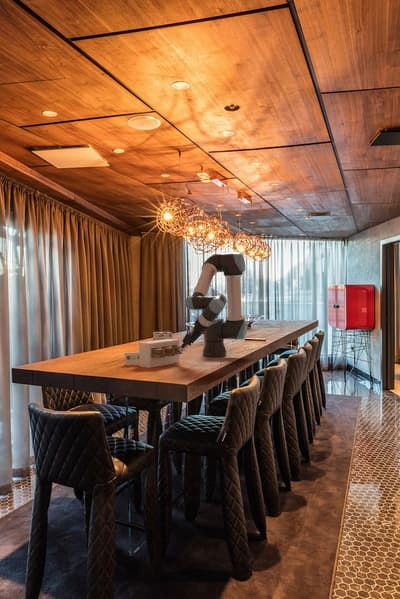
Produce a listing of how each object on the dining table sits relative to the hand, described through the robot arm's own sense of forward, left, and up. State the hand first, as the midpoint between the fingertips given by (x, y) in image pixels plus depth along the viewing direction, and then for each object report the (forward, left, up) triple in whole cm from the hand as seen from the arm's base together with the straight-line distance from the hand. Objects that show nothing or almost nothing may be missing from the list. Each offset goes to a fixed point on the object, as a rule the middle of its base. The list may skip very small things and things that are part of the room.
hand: (180, 350), depth 260 cm
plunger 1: (+15, +4, -2) cm, 16 cm away
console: (+11, -4, -7) cm, 14 cm away
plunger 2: (+2, -5, -2) cm, 6 cm away
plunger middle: (+8, 0, -2) cm, 9 cm away
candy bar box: (+4, -22, -8) cm, 24 cm away
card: (+25, -7, -7) cm, 27 cm away
